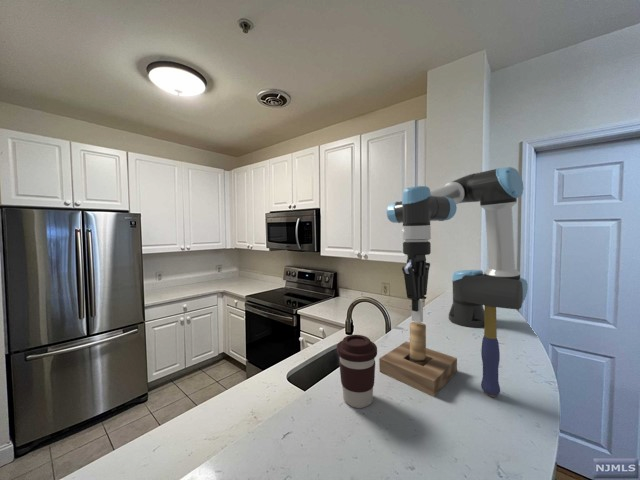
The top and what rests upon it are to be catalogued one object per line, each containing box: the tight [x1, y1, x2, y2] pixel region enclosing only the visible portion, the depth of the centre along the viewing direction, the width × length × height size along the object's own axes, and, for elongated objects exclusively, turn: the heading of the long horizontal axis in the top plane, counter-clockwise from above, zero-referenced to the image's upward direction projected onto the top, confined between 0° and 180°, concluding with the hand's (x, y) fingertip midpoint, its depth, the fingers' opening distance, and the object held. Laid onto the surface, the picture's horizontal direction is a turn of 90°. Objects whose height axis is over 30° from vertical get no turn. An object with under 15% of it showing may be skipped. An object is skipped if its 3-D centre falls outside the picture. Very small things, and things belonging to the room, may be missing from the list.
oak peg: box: [409, 321, 427, 366], centre depth 73 cm, size 5×5×14 cm
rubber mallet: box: [460, 275, 523, 398], centre depth 62 cm, size 12×8×30 cm, turn 45°
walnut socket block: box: [378, 341, 458, 398], centre depth 74 cm, size 16×16×4 cm
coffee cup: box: [336, 334, 378, 409], centre depth 62 cm, size 10×10×15 cm
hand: (417, 320), depth 73 cm, fingers closed
